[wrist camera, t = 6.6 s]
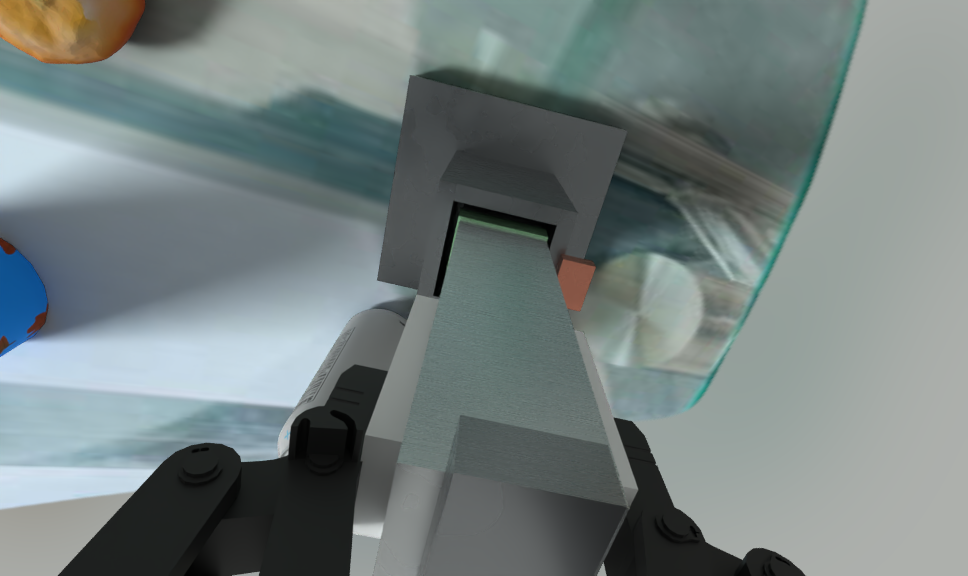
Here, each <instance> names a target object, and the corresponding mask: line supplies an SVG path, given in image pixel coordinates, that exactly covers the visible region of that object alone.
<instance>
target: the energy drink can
mask: <svg viewBox="0 0 968 576" xmlns="http://www.w3.org/2000/svg"><path fill="white" fill-rule="evenodd" d="M406 322H407V320H406V319H404V318H403V317H402V316H400V315H398V314H396V313H394V312H392V311H389V310H384V309H369V310H365V311H362V312H360V313H358V314H356V315H355V316H353V317H352V318H351V319H350V320H349V321H348V323H347V324H346V326H345V327H344V329H343V331H342V332H341V334H340V336H339V337H338V339H337V340H336V342H335V344H334V345H333V347H332V349H331V350H330V352H329V353H328V355H327V357H326V358H325V360H324V362H323V363H322V365H321V367H320V368H319V370H318V371H317V373H316V375H315V376H314V378H313V380H312V381H311V383H310V384H309V386H308V388H307V389H306V391H305V393H304V394H303V396H302V397H301V399H300V401H299V402H298V404H297V406H296V407H295V409H294V411H293V412H292V414H291V415H290V417H289V419H288V420H287V422H286V424H285V425H284V427H283V429H282V431H281V433H280V434H279V439H278V455H279V458H281V457H284V456H287V455H288V451H289V440H290V430H291V425H292V423H293V421H294V420H295V418H296V417H297V416H298V415H300V414H301V413H302V412H304V411H305V410H308V409H311V408H314V407H317V406H324V405H325V404H326V402H327V400H328V399H329V396H330V394H331V392H332V390H333V389H334V387H335V385H336V383H337V381H338V379H339V377H340V375H341V373H343V372H344V371H346V370H347V369H349V368H350V367H351V366H353V365H354V364H357V365H361V366H366V367H371V368H376V369H380V370H385V371H389V368H390V366H391V363H392V360H393V357H394V355H395V352H396V349H397V347H398V344H399V341H400V338H401V336H402V333H403V330H404V327H405V325H406Z"/></svg>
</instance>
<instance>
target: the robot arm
mask: <svg viewBox="0 0 968 576" xmlns="http://www.w3.org/2000/svg"><path fill="white" fill-rule="evenodd" d="M438 302H439V299H434V298H430V297H425V296H421V295H416V298H415V300H414V303H413V306H412V308H411V311H410V314H409V317H408V319H407V322H406V325H405V327H404V330H403V333H402V336H401V338H400V341H399V344H398V347H397V349H396V352H395V355H394V357H393V360H392V363H391V366H390V368H389V371H385V370H380V369H376V368H371V367H366V366H361V365H357V364H354V365H353V366H351V367H350V368H349V369H347V370H346V371H344V372H343V373H341V375H340V377H339V379H338V381H337V383H336V385H335V387H334V389H333V390H332V392H331V394H330V396H329V399H328V400H327V402H326V404H325V405H324V406H317V407H314V408H311V409H308V410H305V411H304V412H302V413H301V414H300V415H298V416H297V417H296V418H295V420H294V421H293V423H292V425H291V430H290V440H289V451H288V455H287V456H284V457H281V458H278V459H274V460H267V461H254V462H241V459H240V456H239V455H238V454H237V453H236V451H235V450H234V449H232V448H230V447H228V446H225V445H223V444H215V443H203V444H197V445H191V446H189V447H186V448H184V449H182V450H179V451H177V452H175V453H174V454H173V455H171V456H170V457H169V458H167V459H166V460H165V461H164V462H163V463H162V464H161V465H160V466H159V467H158V468H157V469H156V470H155V471H154V472H153V474H152V475H151V476H150V477H149V478H148V479H147V480H146V481H145V482H144V483H143V484H142V485H141V486H140V488H139V489H138V490H137V491H136V492H135V493H134V494H133V495H132V496H131V497H130V498H129V499H128V501H127V502H126V503H125V504H124V505H123V506H122V507H121V508H120V509H119V510H118V511H117V512H116V513H115V514H114V516H113V517H112V518H111V519H110V520H109V521H108V522H107V523H106V524H105V525H104V526H103V527H102V528H101V530H100V531H99V532H98V533H97V534H96V535H95V536H94V537H93V538H92V539H91V540H90V541H89V542H88V544H87V545H86V546H85V547H84V548H83V549H82V550H81V551H80V552H79V553H78V554H77V555H76V557H75V558H74V559H73V560H72V561H71V562H70V563H69V564H68V565H67V566H66V567H65V568H64V569H63V571H62V572H61V573H60V574H59V575H58V576H232V575H237V574H244V573H252V572H259V571H260V573H259V576H349V575H350V574H349V573H350V562H351V549H352V535H353V534H358V535H363V536H369V537H374V538H379V539H381V534H382V529H383V525H384V520H385V515H386V511H387V506H388V501H389V497H390V492H391V487H392V483H393V478H394V473H395V469H396V464H397V460H398V456H399V452H400V448H401V444H402V441H403V437H404V433H405V429H406V425H407V421H408V418H409V414H410V410H411V406H412V402H413V398H414V394H415V391H416V387H417V383H418V379H419V375H420V371H421V368H422V364H423V360H424V356H425V352H426V348H427V345H428V341H429V337H430V333H431V329H432V325H433V321H434V318H435V314H436V310H437V306H438ZM574 332H575V335H576V338H577V341H578V344H579V348H580V351H581V354H582V357H583V360H584V364H585V367H586V370H587V373H588V377H589V380H590V383H591V386H592V389H593V393H594V396H595V399H596V402H597V405H598V409H599V412H600V415H601V418H602V421H603V425H604V428H605V431H606V434H607V438H608V441H609V444H610V447H611V450H612V454H613V457H614V460H615V463H616V466H617V470H618V473H619V476H620V479H621V482H622V486H623V489H624V492H625V495H626V499H627V502H628V505H629V508H630V509H629V511H628V513H627V515H626V517H625V519H624V521H623V523H622V525H621V527H620V529H619V531H618V533H617V535H616V538H615V540H614V542H613V544H612V546H611V548H610V550H609V552H608V554H607V556H606V558H605V560H604V566H605V570H606V574H607V576H805V575H804V573H803V572H802V571H801V570H800V569H799V568H797V567H796V566H795V565H794V564H793V563H792V562H791V561H789V560H788V559H786V558H785V557H782V556H781V555H779V554H778V553H776V552H773V551H770V550H767V549H764V548H754V549H752V550H751V551H749V552H748V553H747V554H746V556H745V557H744V559H743V560H741V559H739V558H737V557H735V556H733V555H731V554H728V553H726V552H724V551H722V550H720V549H718V548H716V547H713V546H712V545H710V544H708V543H706V542H705V539H704V537H703V535H702V532H701V530H700V529H699V527H698V526H697V525H696V524H695V523H694V521H693V520H692V519H691V518H690V517H688V516H687V515H686V514H685V513H683V512H682V511H681V510H679V509H676V508H675V507H674V505H673V503H672V500H671V498H670V496H669V493H668V491H667V488H666V486H665V484H664V481H663V479H662V476H661V474H660V471H659V470H658V467H657V466H656V465H655V464H656V462H655V459H654V457H653V455H652V453H650V452H651V450H650V448H649V445H648V443H647V440H646V438H645V436H644V434H643V433H642V432H641V431H640V430H639V429H638V428H637V426H636V425H635V424H634V423H633V422H632V421H628V420H623V419H618V418H614V417H613V415H612V412H611V409H610V406H609V403H608V401H607V398H606V395H605V392H604V389H603V386H602V383H601V380H600V378H599V375H598V372H597V369H596V366H595V363H594V360H593V357H592V354H591V352H590V349H589V346H588V343H587V340H586V337H585V334H584V332H582V331H577V330H574Z"/></svg>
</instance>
